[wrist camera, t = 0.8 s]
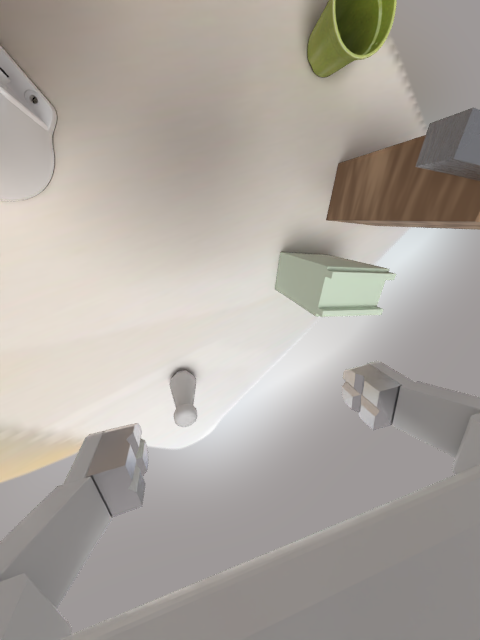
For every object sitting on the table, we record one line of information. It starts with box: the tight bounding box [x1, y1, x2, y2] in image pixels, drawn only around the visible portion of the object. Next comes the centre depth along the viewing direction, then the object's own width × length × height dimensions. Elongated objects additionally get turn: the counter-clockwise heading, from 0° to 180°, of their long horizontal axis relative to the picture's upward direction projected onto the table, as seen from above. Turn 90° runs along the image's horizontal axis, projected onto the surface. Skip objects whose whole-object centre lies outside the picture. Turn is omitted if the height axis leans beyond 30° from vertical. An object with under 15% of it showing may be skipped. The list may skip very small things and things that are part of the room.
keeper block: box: [275, 252, 396, 317], centre depth 42 cm, size 12×8×17 cm, turn 85°
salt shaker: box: [170, 370, 197, 427], centre depth 47 cm, size 6×6×13 cm
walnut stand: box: [326, 135, 480, 229], centre depth 35 cm, size 14×10×27 cm
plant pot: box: [307, 0, 396, 77], centre depth 31 cm, size 9×9×9 cm
